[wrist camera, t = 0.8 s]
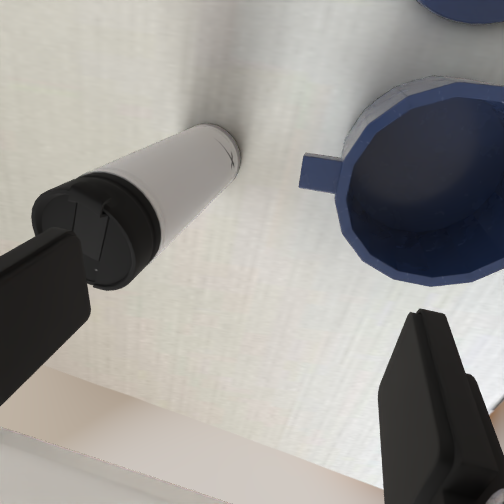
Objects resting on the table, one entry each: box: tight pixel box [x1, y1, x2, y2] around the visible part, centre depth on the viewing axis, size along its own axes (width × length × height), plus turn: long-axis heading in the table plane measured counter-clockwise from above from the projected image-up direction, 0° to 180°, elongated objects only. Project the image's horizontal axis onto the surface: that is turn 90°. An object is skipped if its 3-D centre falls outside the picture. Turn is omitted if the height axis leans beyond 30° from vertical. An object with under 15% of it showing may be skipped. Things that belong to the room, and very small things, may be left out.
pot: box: [299, 76, 504, 287], centre depth 28 cm, size 14×19×8 cm
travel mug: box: [31, 124, 241, 291], centre depth 27 cm, size 6×7×20 cm
